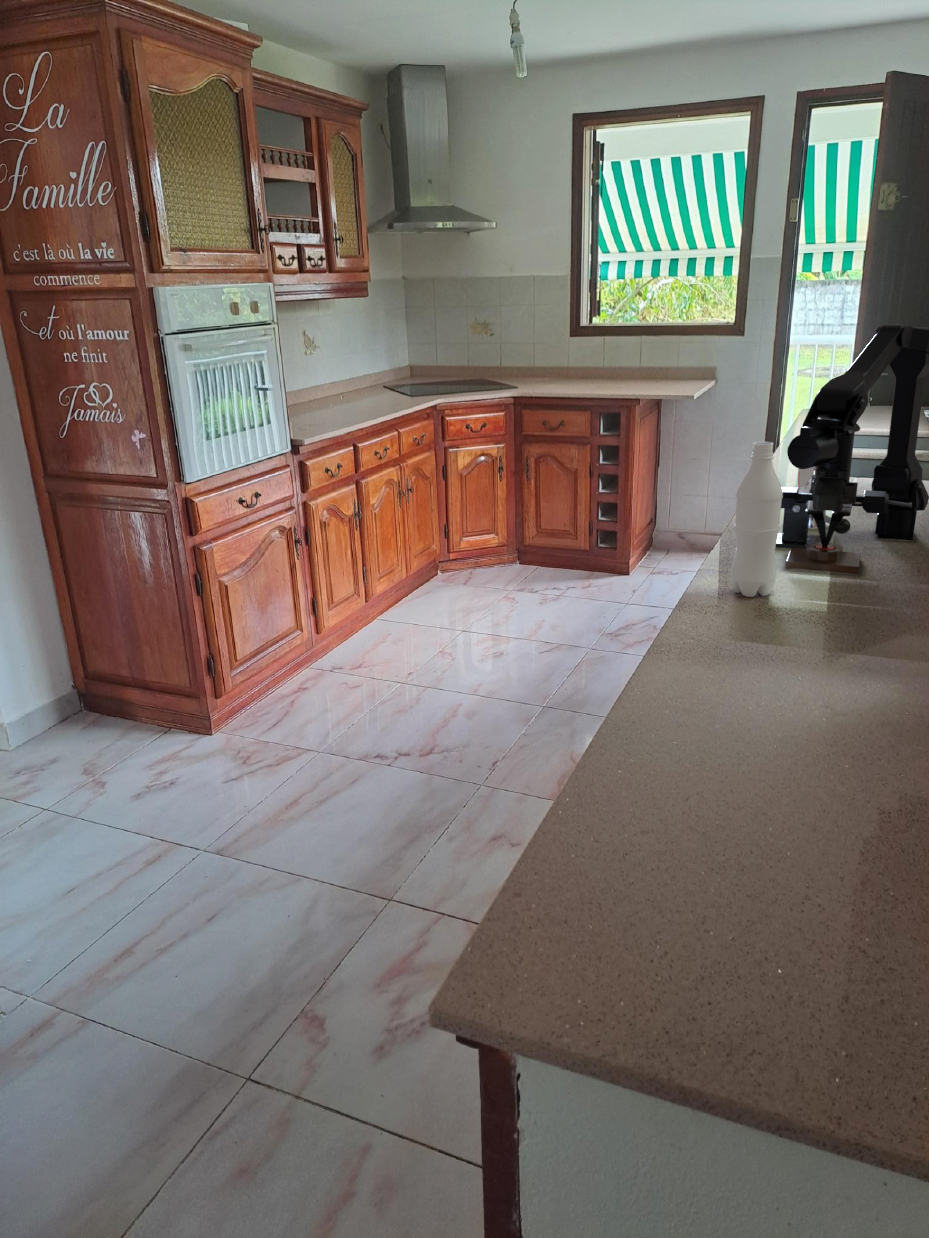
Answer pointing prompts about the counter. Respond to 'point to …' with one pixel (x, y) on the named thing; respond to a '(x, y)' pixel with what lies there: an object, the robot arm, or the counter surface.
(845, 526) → the lever with ball knob
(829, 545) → the red push button
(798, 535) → the black lever housing
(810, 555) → the control block
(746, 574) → the water bottle
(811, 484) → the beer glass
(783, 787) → the counter surface
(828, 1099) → the counter surface
